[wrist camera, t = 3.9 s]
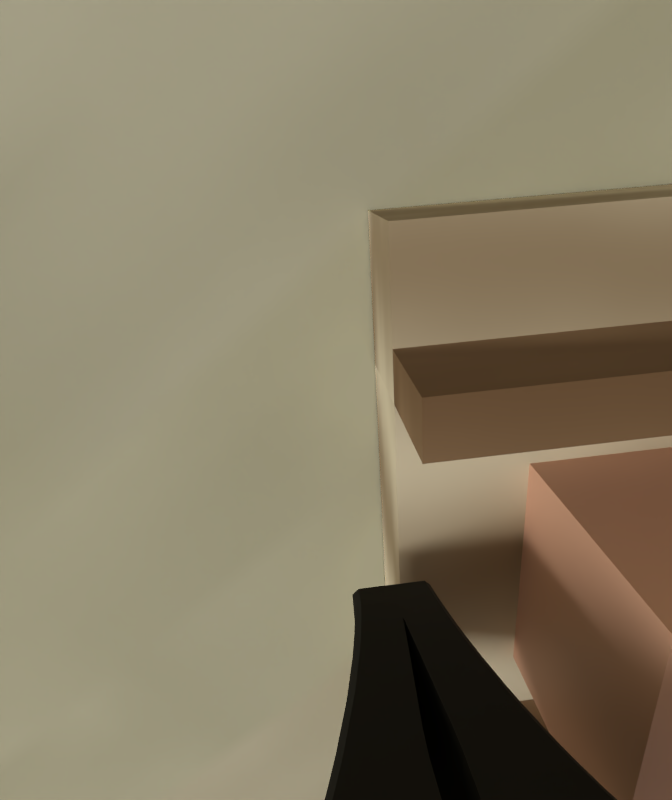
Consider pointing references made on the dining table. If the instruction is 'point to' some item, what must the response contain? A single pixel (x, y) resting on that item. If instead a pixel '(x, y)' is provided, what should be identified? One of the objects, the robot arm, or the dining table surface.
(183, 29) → the dining table surface
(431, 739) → the robot arm
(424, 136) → the dining table surface
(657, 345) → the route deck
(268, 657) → the dining table surface
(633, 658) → the block terracotta
